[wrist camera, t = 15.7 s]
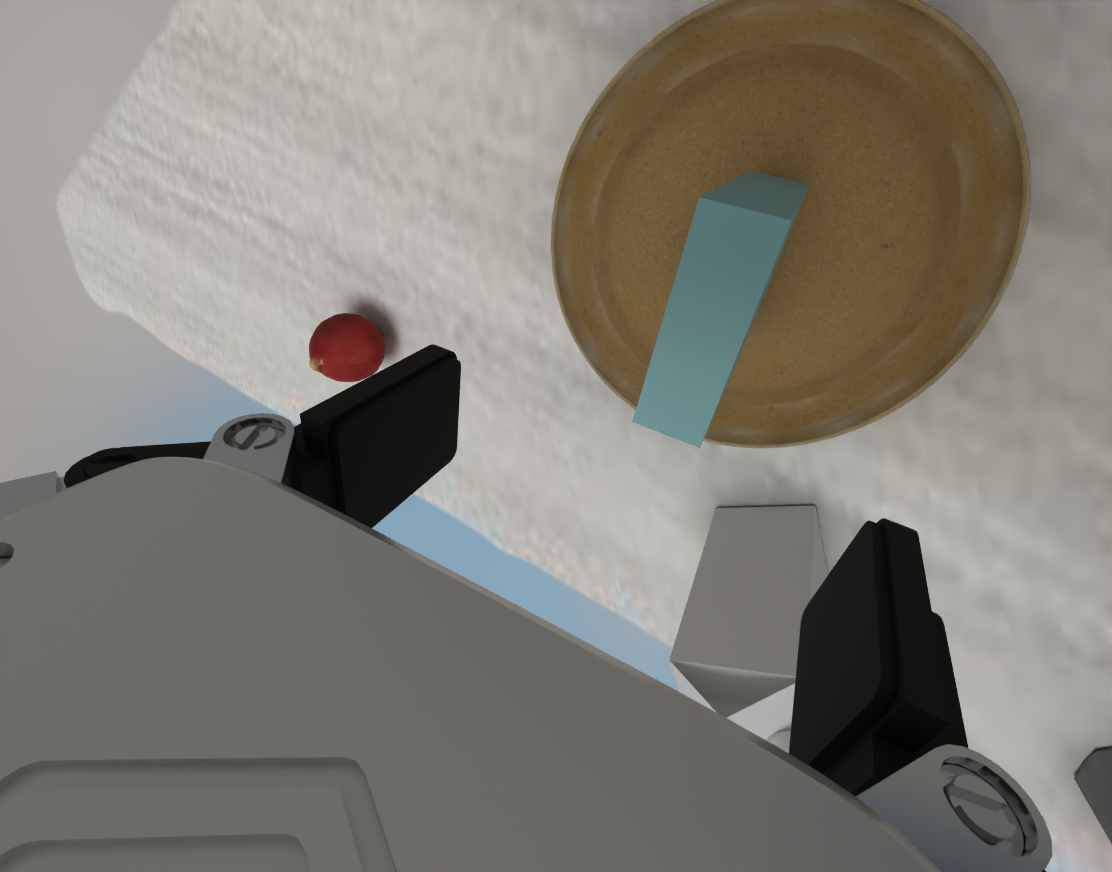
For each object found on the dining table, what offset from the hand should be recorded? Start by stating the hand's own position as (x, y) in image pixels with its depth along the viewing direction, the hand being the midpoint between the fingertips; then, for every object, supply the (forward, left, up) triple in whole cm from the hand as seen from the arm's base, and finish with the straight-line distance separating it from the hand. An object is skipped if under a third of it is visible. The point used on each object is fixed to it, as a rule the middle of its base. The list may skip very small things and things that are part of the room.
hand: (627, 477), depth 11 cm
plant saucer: (0, 0, -26) cm, 26 cm away
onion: (+29, +15, -25) cm, 41 cm away
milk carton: (-9, +20, -25) cm, 33 cm away
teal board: (0, 0, -22) cm, 22 cm away
